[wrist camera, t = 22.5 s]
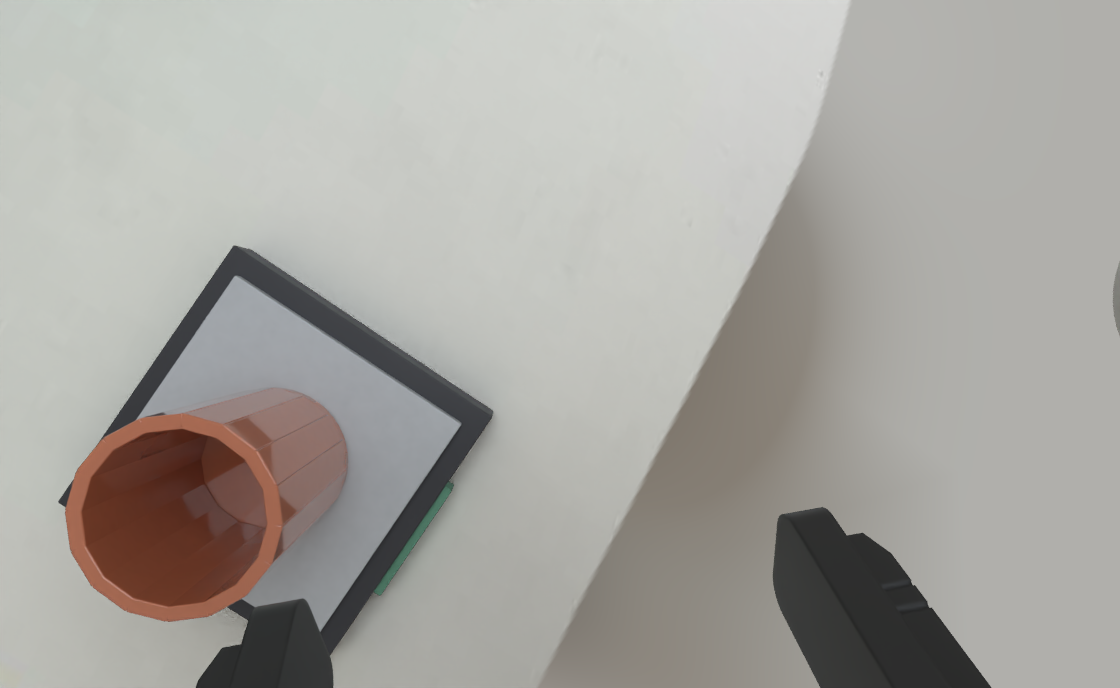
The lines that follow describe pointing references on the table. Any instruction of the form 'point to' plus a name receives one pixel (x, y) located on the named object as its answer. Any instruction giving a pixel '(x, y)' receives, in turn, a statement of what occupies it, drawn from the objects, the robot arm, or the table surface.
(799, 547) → the robot arm
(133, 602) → the cup
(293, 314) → the scale
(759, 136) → the table surface
